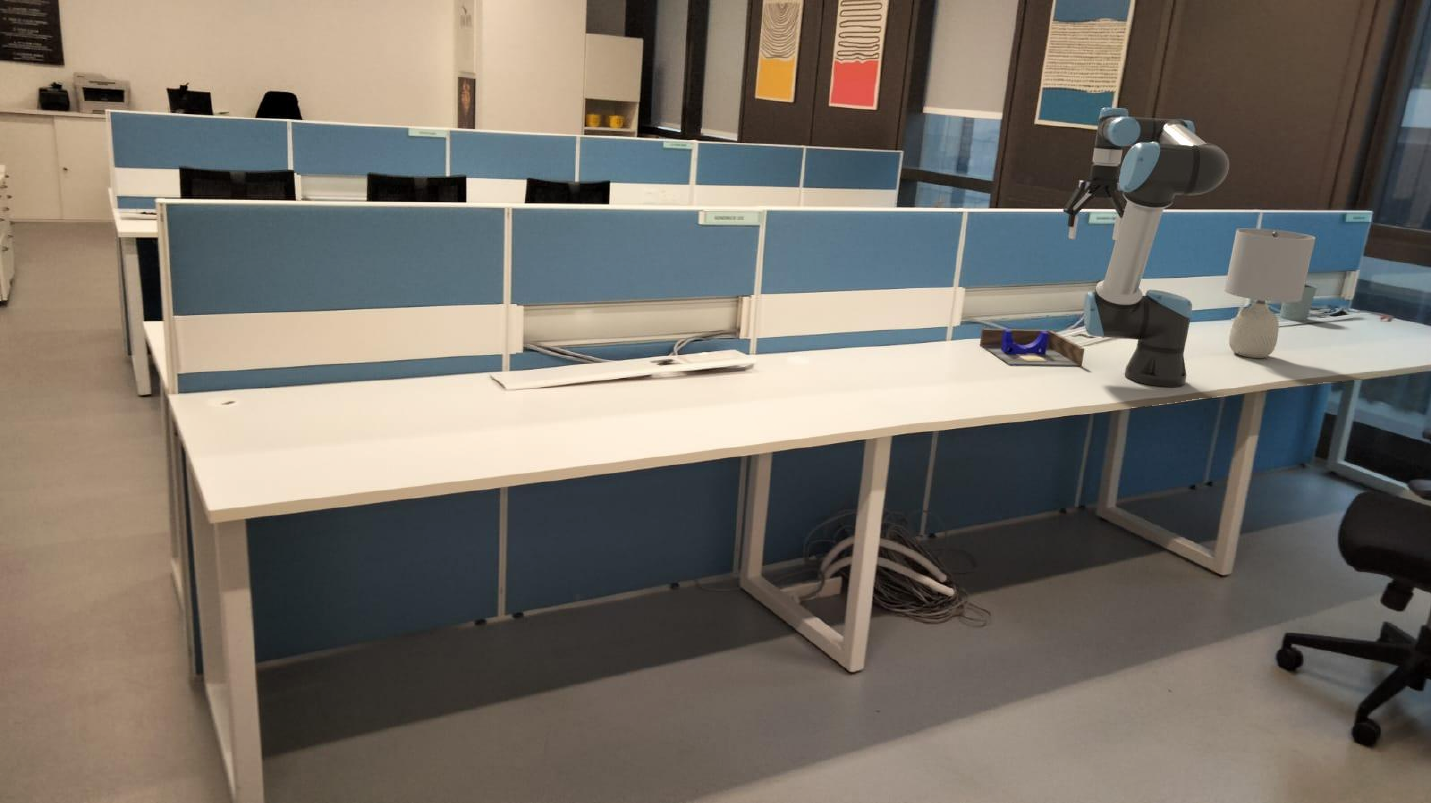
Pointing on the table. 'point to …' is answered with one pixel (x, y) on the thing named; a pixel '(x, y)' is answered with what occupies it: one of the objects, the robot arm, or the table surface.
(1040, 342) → the blue u-shaped bracket
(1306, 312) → the grey tapered pot
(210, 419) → the table surface
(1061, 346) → the corner arena
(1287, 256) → the lamp
